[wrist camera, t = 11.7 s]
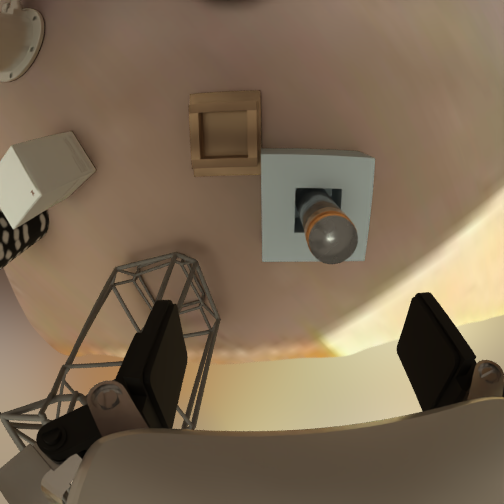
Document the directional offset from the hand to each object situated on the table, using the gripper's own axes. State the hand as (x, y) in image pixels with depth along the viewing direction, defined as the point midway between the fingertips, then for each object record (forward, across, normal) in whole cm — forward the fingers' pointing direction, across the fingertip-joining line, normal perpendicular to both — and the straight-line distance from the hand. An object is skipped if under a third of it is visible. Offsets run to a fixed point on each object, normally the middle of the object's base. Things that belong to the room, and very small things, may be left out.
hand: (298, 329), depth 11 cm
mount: (+28, +5, -5) cm, 29 cm away
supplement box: (+29, +28, -3) cm, 41 cm away
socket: (+28, -5, +3) cm, 29 cm away
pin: (+27, -5, +3) cm, 28 cm away
